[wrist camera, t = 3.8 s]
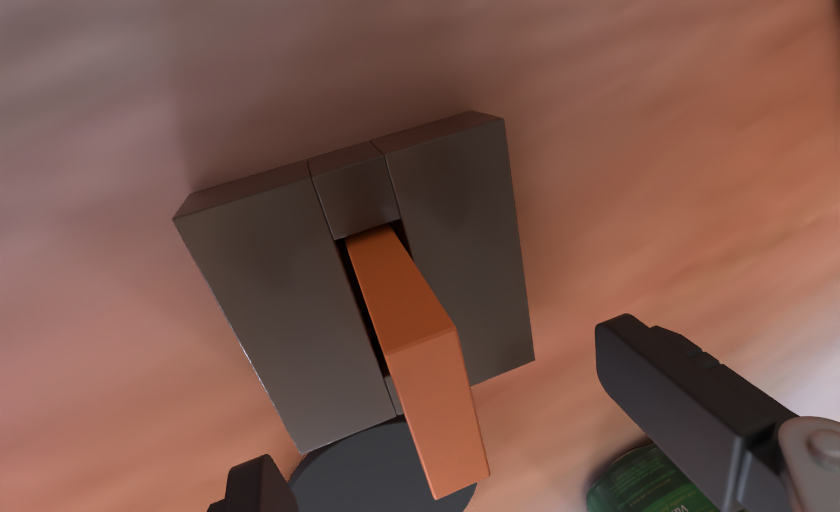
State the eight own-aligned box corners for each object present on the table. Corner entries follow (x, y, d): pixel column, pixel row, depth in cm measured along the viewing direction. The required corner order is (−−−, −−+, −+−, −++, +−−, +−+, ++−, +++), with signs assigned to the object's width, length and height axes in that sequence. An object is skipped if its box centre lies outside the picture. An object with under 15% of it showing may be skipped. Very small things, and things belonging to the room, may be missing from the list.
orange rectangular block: (375, 329, 18) (434, 502, 11) (338, 222, 16) (383, 354, 9) (411, 316, 18) (492, 477, 11) (379, 209, 16) (457, 326, 9)
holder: (298, 409, 18) (300, 455, 16) (188, 194, 14) (170, 219, 12) (507, 328, 20) (535, 360, 18) (472, 109, 15) (504, 118, 13)
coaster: (322, 580, 23) (323, 592, 23) (247, 466, 19) (246, 477, 18) (487, 505, 25) (492, 515, 24) (456, 382, 20) (461, 391, 20)
